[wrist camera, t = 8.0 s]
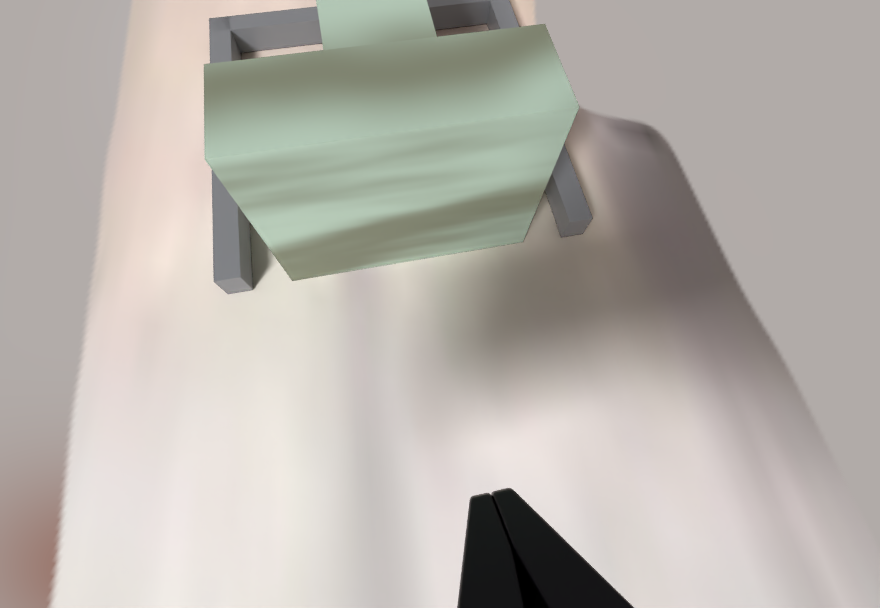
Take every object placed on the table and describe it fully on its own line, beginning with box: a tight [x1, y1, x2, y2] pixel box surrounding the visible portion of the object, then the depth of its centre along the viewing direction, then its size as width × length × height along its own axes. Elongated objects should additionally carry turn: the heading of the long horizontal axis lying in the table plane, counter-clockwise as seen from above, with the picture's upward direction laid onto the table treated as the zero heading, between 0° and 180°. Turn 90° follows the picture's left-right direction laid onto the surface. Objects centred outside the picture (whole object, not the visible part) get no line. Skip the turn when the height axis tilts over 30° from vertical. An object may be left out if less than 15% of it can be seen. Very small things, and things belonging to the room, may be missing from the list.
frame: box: [209, 0, 593, 294], centre depth 24 cm, size 18×18×2 cm
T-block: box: [204, 0, 579, 281], centre depth 20 cm, size 14×12×9 cm
